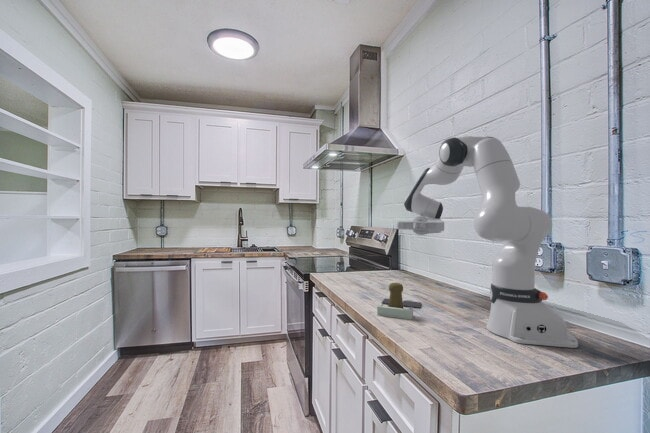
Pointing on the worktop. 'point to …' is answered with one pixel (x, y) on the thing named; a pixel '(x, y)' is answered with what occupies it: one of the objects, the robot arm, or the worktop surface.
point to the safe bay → (395, 312)
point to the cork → (395, 295)
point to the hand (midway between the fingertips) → (418, 225)
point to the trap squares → (405, 303)
